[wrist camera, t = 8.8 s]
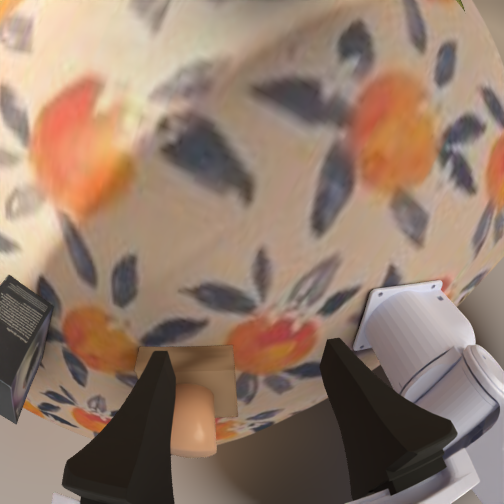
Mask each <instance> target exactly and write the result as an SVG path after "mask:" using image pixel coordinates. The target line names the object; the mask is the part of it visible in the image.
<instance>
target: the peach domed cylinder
mask: <svg viewBox="0 0 504 504" xmlns="http://www.w3.org/2000/svg"><path fill="white" fill-rule="evenodd" d="M170 446H171V454H173V455H176V456H180V457H186V458H204V457H209V456H212V455H214V454H215V453H216V452H217V450H216V449H217V448H216V429H215V406H214V394H213V393H212V392H211V391H210V390H209V389H207V388H205V387H203V386H200V385H195V384H179V385H176V399H175V407H174V415H173V423H172V432H171V445H170Z"/></svg>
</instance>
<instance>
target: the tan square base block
mask: <svg viewBox="0 0 504 504" xmlns="http://www.w3.org/2000/svg"><path fill="white" fill-rule="evenodd" d="M154 351H168V354H169V357H170V360H171V364H172V367H173V370H174V373H175V376H176V385H179V384H195V385H200V386H203V387H205V388H207V389H209V390H210V391H211V392H212V393H213V394H214V406H215V418H220V417H238V410H237V395H236V380H235V365H234V354H233V345H225V346H199V347H140V348H139V352H138V356H137V360H136V365H135V369H134V371H135V373H136V375H137V377H138V379H139V378H140V376H141V374H142V373H143V371H144V369H145V367H146V365H147V363H148V361H149V359H150V357H151V355H152V353H153V352H154Z"/></svg>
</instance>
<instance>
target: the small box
mask: <svg viewBox="0 0 504 504" xmlns="http://www.w3.org/2000/svg"><path fill="white" fill-rule="evenodd" d="M52 311H53V305H51V304H50V303H48V302H47V301H45V300H44V299H42V298H41V297H40V296H38V295H37V294H35V293H34V292H32V291H31V290H29V289H28V288H27V287H25V286H24V285H22V284H21V283H20V282H18V281H17V280H16V279H14V278H13V277H12V276H10V275H8V276H7V277H6V279H5V280H4V281H3V283H2V284H1V285H0V415H2V416H3V417H5V418H7V419H8V420H10V421H12V422H13V423H15V424H17V421H18V418H19V416H20V413H21V410H22V407H23V405H24V402H25V399H26V397H27V394H28V392H29V389H30V386H31V384H32V381H33V379H34V377H35V375H36V372H37V370H38V367H39V365H40V363H41V360H42V358H43V353H44V348H45V343H46V338H47V333H48V328H49V324H50V320H51V315H52Z"/></svg>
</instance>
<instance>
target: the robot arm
mask: <svg viewBox="0 0 504 504" xmlns="http://www.w3.org/2000/svg"><path fill="white" fill-rule="evenodd" d="M441 287H442V282H441V281H440V280H436V281H430V282H423V283H416V284H409V285H401V286H394V287H386V288H378V289H373V290H372V291H371V292H370V295H369V298H368V302H367V305H366V308H365V312H364V315H363V318H362V321H361V324H360V327H359V330H358V333H357V336H356V339H355V342H354V345H353V349H354V350H355V351H358V350H363V349H368V348H372V349H373V351H374V353H375V355H376V356H377V358H378V360H379V362H380V364H381V366H382V368H383V369H384V371H385V373H386V375H387V377H388V379H389V381H390V382H391V385H392V387H393V389H394V390H393V389H392V388H390V387H389V386H388V385H387V384H385V383H384V382H383V381H382V380H381V379H379V378H378V377H377V376H376V375H375V374H374V373H373V372H372V371H371V370H370V369H369V368H368V367H367V366H366V365H365V364H364V363H363V362H362V361H361V360H360V359H359V358H358V357H357V356H356V355H355V354H354V353H353V352H352V351H351V350H350V349H349V347H348V346H347V345H346V344H345V343H344V342H343V341H342V340H341V339H340V338H334V339H327V342H326V346H325V350H324V353H323V357H322V360H321V364H320V370H321V375H322V379H323V383H324V387H325V389H326V392H327V395H328V397H329V400H330V402H331V405H332V408H333V410H334V413H335V415H336V418H337V421H338V424H339V427H340V430H341V434H342V439H343V443H344V447H345V452H346V457H347V463H348V469H349V475H350V485H351V495H352V499H353V501H352V502H348V503H345V504H451V503H452V502H454V501H455V500H457V499H458V498H459V497H461V496H462V495H463V494H465V493H466V492H467V491H469V490H470V489H472V490H473V491H474V493H475V494H476V496H477V497H478V498H479V499H480V501H481V502H482V504H504V371H503V370H502V368H501V367H500V366H499V364H498V363H497V362H496V361H495V359H494V358H493V357H492V356H491V355H490V354H489V353H488V352H487V351H486V350H485V349H484V348H482V347H481V346H479V345H475V335H474V331H473V328H472V326H471V324H470V322H469V321H468V320H467V319H466V317H464V315H463V314H462V313H461V312H460V311H459V309H458V308H457V307H456V306H455V305H454V304H453V303H452V302H451V301H450V300H449V298H448V297H447V296H446V295H445V294H444V293H443V292H442V291H441V290H440V289H441ZM379 293H380V294H379ZM175 399H176V376H175V373H174V370H173V367H172V364H171V360H170V357H169V354H168V351H154V352H153V353H152V355H151V357H150V359H149V361H148V363H147V365H146V367H145V369H144V371H143V373H142V374H141V376H140V378H139V380H138V381H137V383H136V385H135V387H134V388H133V390H132V391H131V393H130V394H129V396H128V398H127V399H126V401H125V402H124V404H123V405H122V406H121V408H120V409H119V411H118V412H117V413H116V414H115V416H114V417H113V418H112V419H111V421H110V422H109V423H108V424H107V425H106V426H105V428H104V429H103V430H102V431H101V432H100V433H99V434H98V435H97V436H96V437H95V438H94V439H93V440H92V441H91V442H90V443H89V444H87V445H86V446H85V447H84V448H83V449H82V450H80V451H79V452H78V453H77V454H75V455H74V456H73V457H71V458H70V459H69V460H67V462H66V465H65V469H64V474H63V480H62V485H63V487H64V488H66V489H68V490H70V491H71V492H73V493H75V494H77V495H79V496H81V500H80V501H79V500H76V499H73V498H70V497H67V496H64V495H62V494H59V493H56V492H53V498H52V504H174V497H173V487H172V475H171V446H170V445H171V432H172V423H173V415H174V407H175Z"/></svg>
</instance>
